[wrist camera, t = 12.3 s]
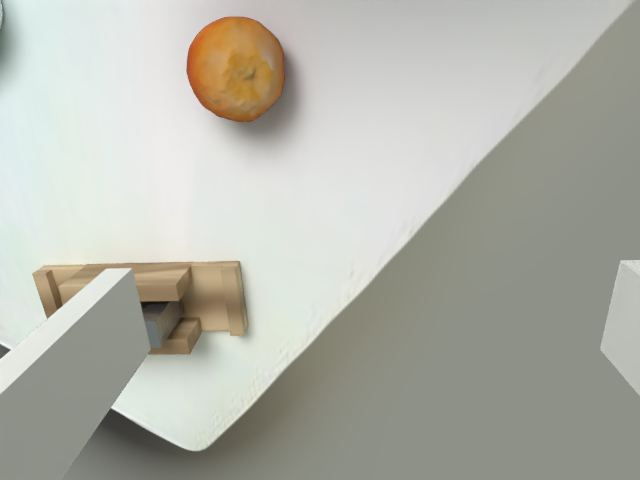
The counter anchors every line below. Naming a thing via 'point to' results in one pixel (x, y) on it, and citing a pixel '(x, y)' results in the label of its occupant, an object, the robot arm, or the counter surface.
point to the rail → (163, 295)
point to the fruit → (236, 68)
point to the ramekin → (1, 14)
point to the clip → (161, 320)
